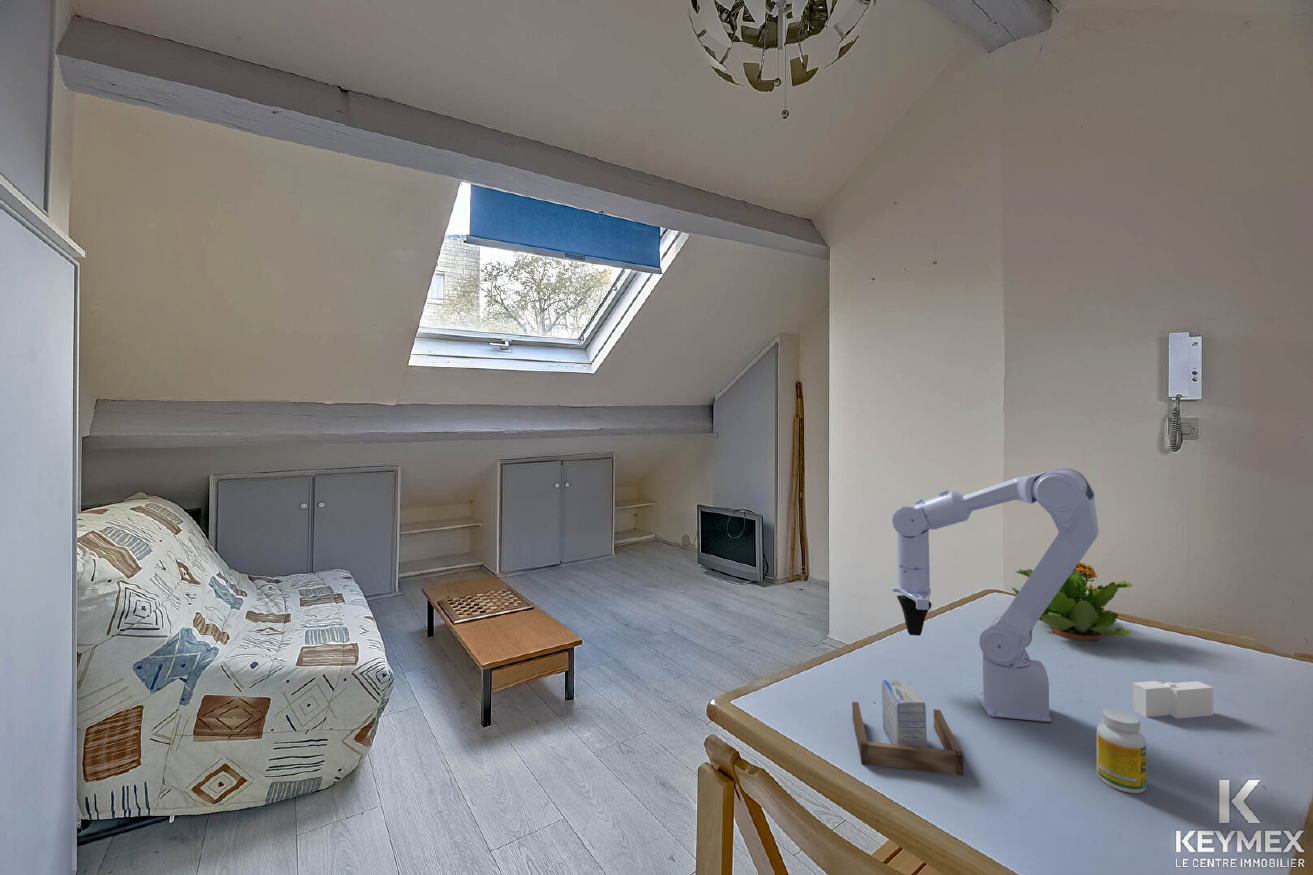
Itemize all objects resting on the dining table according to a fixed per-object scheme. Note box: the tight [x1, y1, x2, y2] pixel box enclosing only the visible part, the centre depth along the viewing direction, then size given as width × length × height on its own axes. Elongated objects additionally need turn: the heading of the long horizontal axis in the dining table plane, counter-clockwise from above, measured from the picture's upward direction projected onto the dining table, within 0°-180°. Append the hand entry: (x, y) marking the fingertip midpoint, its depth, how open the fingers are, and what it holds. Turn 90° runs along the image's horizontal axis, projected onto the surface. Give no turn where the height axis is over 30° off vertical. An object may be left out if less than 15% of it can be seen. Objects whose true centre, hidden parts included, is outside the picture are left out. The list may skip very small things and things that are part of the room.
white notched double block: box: [1132, 680, 1214, 719], centre depth 96 cm, size 15×11×6 cm
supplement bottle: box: [1096, 708, 1147, 794], centre depth 78 cm, size 5×5×10 cm
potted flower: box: [1011, 561, 1133, 642], centre depth 130 cm, size 25×24×18 cm
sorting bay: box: [851, 701, 965, 777], centre depth 88 cm, size 14×13×3 cm
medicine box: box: [881, 679, 928, 748], centre depth 88 cm, size 8×4×9 cm, turn 174°
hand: (914, 633), depth 109 cm, fingers closed
